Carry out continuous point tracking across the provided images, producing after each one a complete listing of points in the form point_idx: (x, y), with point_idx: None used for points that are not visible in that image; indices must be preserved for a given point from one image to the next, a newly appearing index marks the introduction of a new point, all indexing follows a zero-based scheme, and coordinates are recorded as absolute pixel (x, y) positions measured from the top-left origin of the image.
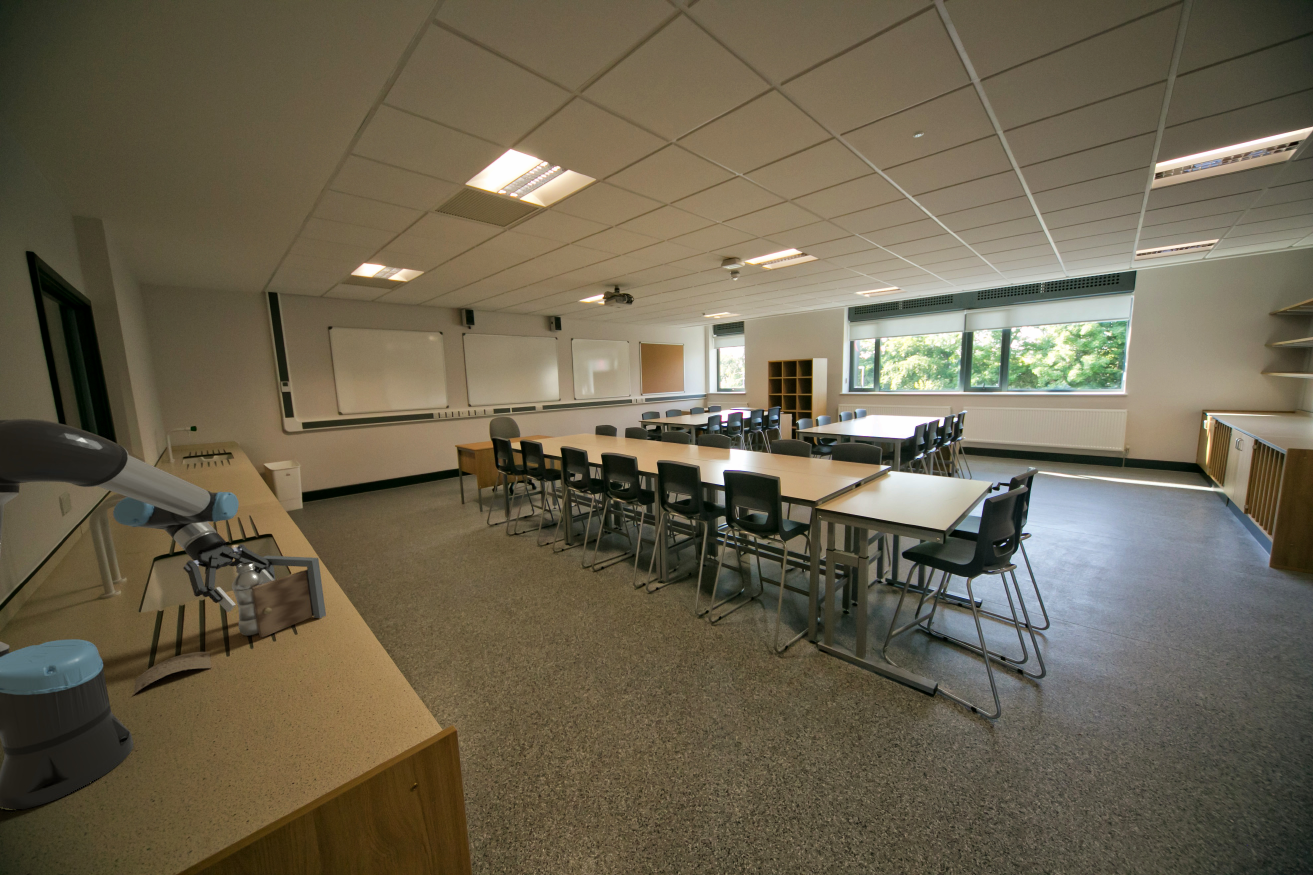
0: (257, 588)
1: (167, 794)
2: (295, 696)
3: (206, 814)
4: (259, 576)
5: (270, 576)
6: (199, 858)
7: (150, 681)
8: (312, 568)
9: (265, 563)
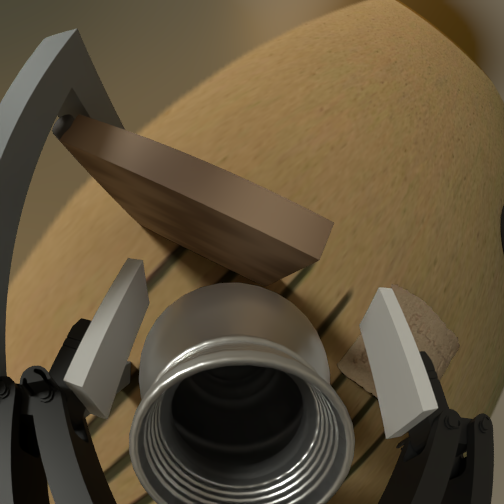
0: (315, 216)
1: (496, 124)
2: (404, 77)
3: (485, 89)
4: (196, 303)
5: (98, 318)
6: (490, 80)
7: (450, 346)
8: (90, 66)
9: (15, 409)
